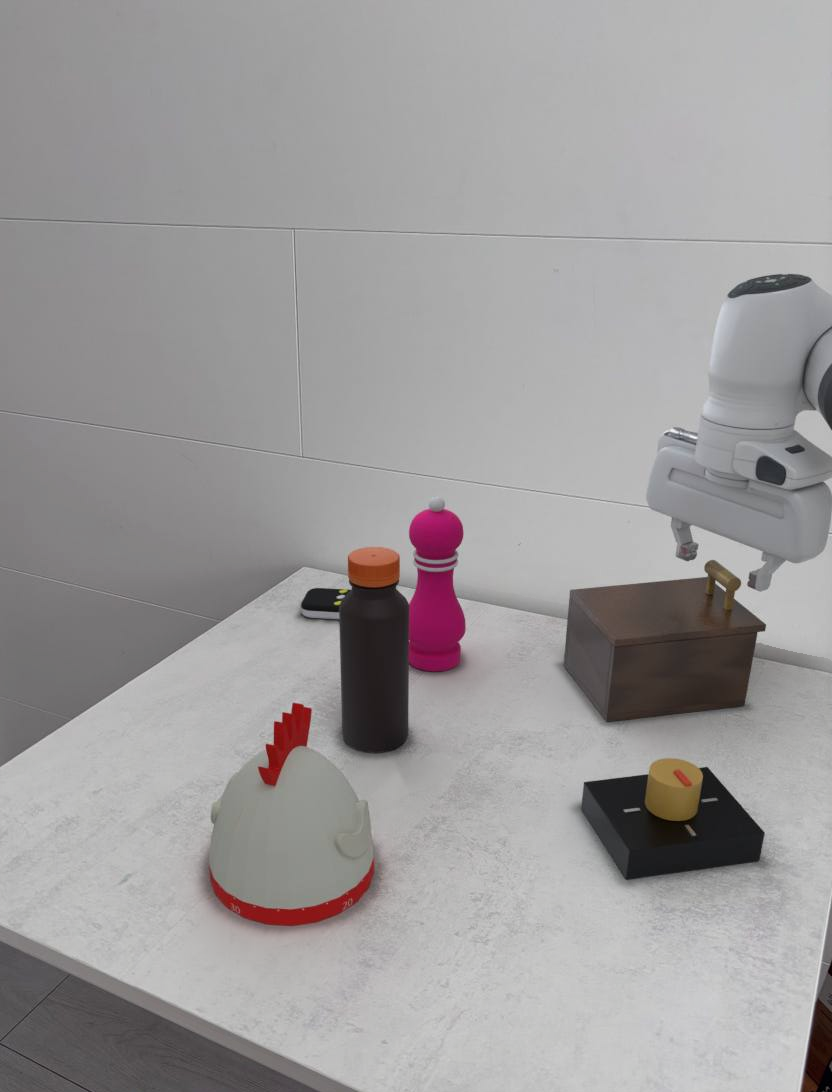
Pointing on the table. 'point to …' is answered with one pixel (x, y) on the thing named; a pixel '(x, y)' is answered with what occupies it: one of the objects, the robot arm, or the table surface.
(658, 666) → the chest
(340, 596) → the remote control
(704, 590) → the chest lid
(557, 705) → the table surface
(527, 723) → the table surface
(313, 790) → the kitchen timer
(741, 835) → the rotary knob base
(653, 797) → the lock dial
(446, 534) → the pepper mill
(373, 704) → the bottle
